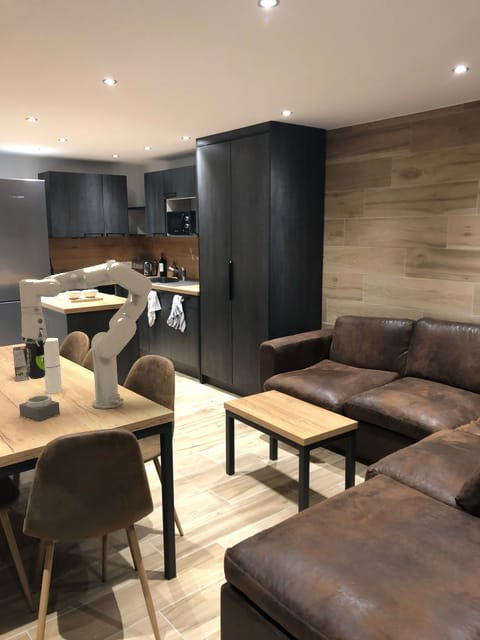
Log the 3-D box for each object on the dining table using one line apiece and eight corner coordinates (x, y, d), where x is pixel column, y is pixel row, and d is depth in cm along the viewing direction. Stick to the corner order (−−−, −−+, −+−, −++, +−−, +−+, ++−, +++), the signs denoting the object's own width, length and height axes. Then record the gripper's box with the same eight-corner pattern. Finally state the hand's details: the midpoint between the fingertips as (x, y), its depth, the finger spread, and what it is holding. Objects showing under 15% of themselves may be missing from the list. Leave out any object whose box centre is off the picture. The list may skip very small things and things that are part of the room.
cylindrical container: (56, 394, 232) (52, 341, 227) (42, 393, 233) (38, 341, 229) (65, 389, 238) (61, 338, 234) (51, 388, 240) (47, 337, 236)
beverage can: (25, 378, 201) (22, 341, 199) (39, 374, 206) (36, 338, 204) (35, 380, 198) (31, 343, 195) (48, 376, 203) (45, 340, 200)
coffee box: (29, 380, 255) (26, 349, 252) (15, 381, 253) (12, 350, 250) (29, 375, 264) (26, 345, 261) (16, 376, 261) (13, 346, 258)
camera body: (59, 414, 205) (58, 397, 204) (38, 421, 197) (37, 404, 196) (41, 408, 212) (40, 393, 211) (20, 416, 204) (18, 399, 202)
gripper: (53, 310, 196) (57, 355, 199) (27, 307, 205) (30, 350, 208) (36, 313, 190) (40, 359, 193) (10, 310, 199) (14, 354, 202)
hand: (35, 354), depth 201 cm, fingers closed on beverage can, 6 cm apart
